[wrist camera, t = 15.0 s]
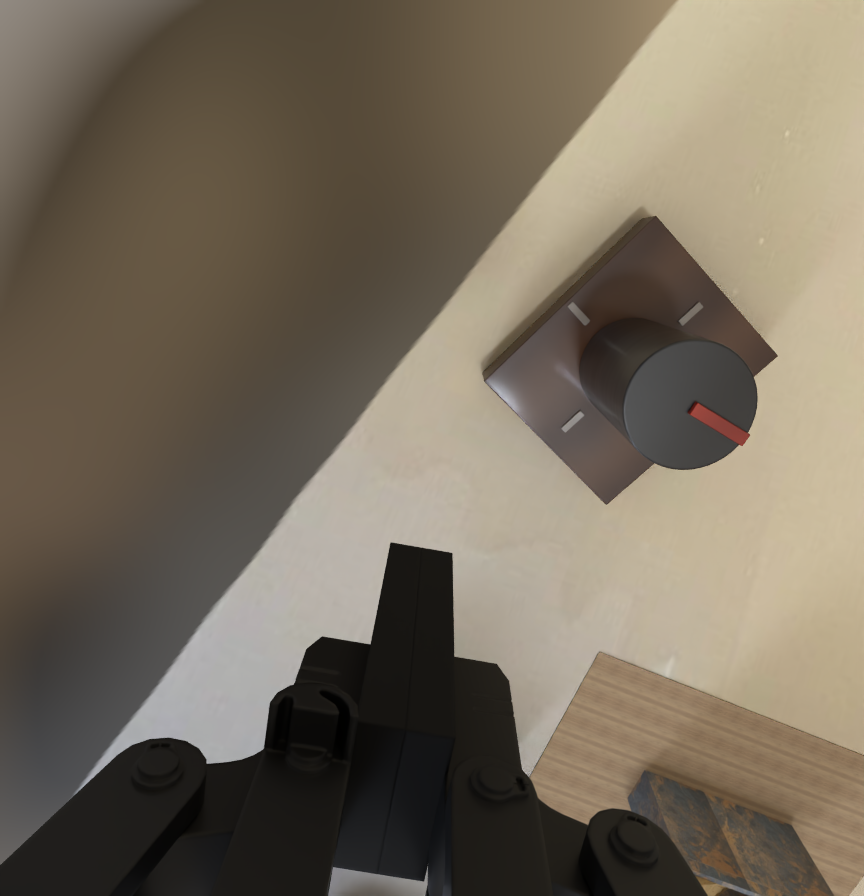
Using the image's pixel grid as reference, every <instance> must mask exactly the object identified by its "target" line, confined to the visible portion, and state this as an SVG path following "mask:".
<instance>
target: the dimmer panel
mask: <svg viewBox="0 0 864 896" xmlns="http://www.w3.org/2000/svg"><path fill="white" fill-rule="evenodd" d="M626 318H643V319H647V320H651V321H654V322H657V323H660V324H663V325H666V326H669V327H672V328H675V329H678V330H681V331H685V332H688V333H691V334H694V335H697V336H700V337H703V338H706V339H709V340H712V341H715V342H718V343H721V344H723V345H725V346H727V347H729V348H731V349H732V350H733V351H735V352H736V353H737V354H738V355H739V356H740V357H741V358H742V359H743V360H744V361H745V362H746V364H747V365H748V366H749V368H750V370H751V372H752V374H753V377H754V376H755V375H756V374H758V373H759V372H760V371H761V370H762V369H763V368H765V367H766V366H767V365H768V364H769V363H770V362H771V361H773V360H774V359H775V358H776V357H777V354H776V353H775V352H774V351H773V350H772V349H771V347H770V346H769V345H768V344H767V343H766V342H765V340H764V339H763V338H762V337H761V336H760V335H759V334H758V332H757V331H756V330H755V329H754V328H753V327H752V326H751V324H750V323H749V322H748V321H747V320H746V319H745V318H744V316H743V315H742V314H741V313H740V312H739V311H738V310H737V308H736V307H735V306H734V305H733V304H732V303H731V302H730V300H729V299H728V298H727V297H726V296H725V295H724V293H723V292H722V291H721V290H720V289H719V288H718V287H717V285H716V284H715V283H714V282H713V281H712V280H711V279H710V277H709V276H708V275H707V274H706V273H705V272H704V271H703V269H702V268H701V267H700V266H699V265H698V264H697V263H696V261H695V260H694V259H693V258H692V257H691V256H690V254H689V253H688V252H687V251H686V250H685V249H684V248H683V246H682V245H681V244H680V243H679V242H678V241H677V240H676V238H675V237H674V236H673V235H672V234H671V233H670V232H669V230H668V229H667V228H666V227H665V226H664V225H663V224H662V222H661V221H660V220H659V219H658V218H657V217H656V216H653V217H648V218H642V219H641V220H640V221H639V222H638V223H637V224H636V225H635V226H634V227H633V228H632V229H631V230H630V231H629V232H628V233H627V234H626V235H625V236H624V237H622V238H621V239H620V240H619V241H618V242H617V243H616V244H615V245H614V246H613V247H612V248H611V249H610V250H609V251H608V252H607V253H606V254H605V255H604V256H603V257H602V258H601V259H600V260H599V261H598V262H597V263H596V264H595V265H594V266H592V267H591V268H590V269H589V270H588V271H587V272H586V273H585V274H584V275H583V276H582V277H581V278H580V279H579V280H578V281H577V282H576V283H575V284H574V285H573V286H572V287H571V288H570V289H569V290H568V291H567V292H566V293H565V294H564V295H563V296H561V297H560V298H559V299H558V300H557V301H556V302H555V303H554V304H553V305H552V306H551V307H550V308H549V309H548V310H547V311H546V312H545V313H544V314H543V315H542V316H541V317H540V318H539V319H538V320H537V321H536V322H535V323H534V324H533V325H531V326H530V327H529V328H528V329H527V330H526V331H525V332H524V333H523V334H522V335H521V336H520V337H519V338H518V339H517V340H516V341H515V342H514V343H513V344H512V345H511V346H510V347H509V348H508V349H507V350H506V351H505V352H504V353H503V354H501V355H500V356H499V357H498V358H497V359H496V360H495V361H494V362H493V363H492V364H491V365H490V366H489V367H488V368H487V369H486V370H485V371H484V372H483V373H482V375H483V378H484V381H485V383H486V384H487V385H488V386H489V387H490V388H491V389H492V390H493V391H494V392H495V393H496V394H497V395H498V396H499V397H500V398H501V399H502V400H503V401H504V402H505V403H506V404H507V405H508V406H509V407H510V408H511V409H512V410H513V411H514V412H515V413H516V414H517V415H518V416H519V417H520V418H521V419H522V420H523V421H524V422H525V423H526V424H527V425H528V426H529V427H530V428H531V429H532V430H533V431H534V432H535V433H536V434H537V435H538V436H539V437H540V438H541V439H542V440H543V441H544V442H545V443H546V444H547V445H548V446H549V447H550V448H551V449H552V450H553V451H554V452H555V453H556V454H557V456H558V457H559V458H560V459H561V460H562V461H563V462H564V463H565V464H566V465H567V466H568V467H569V468H570V469H571V470H572V471H573V472H574V473H575V474H576V475H577V476H578V477H579V478H580V479H581V480H582V481H583V482H584V483H585V484H586V485H587V486H588V487H589V488H590V489H591V490H592V491H593V492H594V493H595V494H596V495H597V496H598V497H599V498H600V499H601V500H602V501H603V502H604V503H605V504H606V505H607V504H608V503H609V502H610V501H611V500H613V499H614V498H615V497H616V496H617V495H618V494H619V493H621V492H622V491H623V490H624V489H625V488H626V487H628V486H629V485H630V484H631V483H632V482H633V481H634V480H636V479H637V478H638V477H639V476H640V475H641V474H643V473H644V472H645V471H646V470H647V469H648V468H649V467H651V466H652V465H653V464H654V463H653V462H651V461H650V460H648V459H647V458H645V457H644V456H643V455H642V454H641V453H639V452H638V451H637V450H636V449H635V448H634V447H633V446H632V445H631V443H630V442H629V441H628V440H627V439H626V438H625V437H624V436H623V435H622V434H621V433H620V432H619V431H618V430H617V429H616V428H615V427H614V426H613V425H612V424H611V423H610V422H609V421H608V420H607V419H606V418H605V417H604V416H603V415H602V414H601V413H600V412H599V410H598V409H597V408H596V407H595V406H594V405H593V404H592V403H591V402H590V401H589V400H588V398H587V396H586V395H585V393H584V391H583V388H582V385H581V381H580V362H581V358H582V355H583V352H584V350H585V348H586V346H587V344H588V343H589V341H590V340H591V339H592V337H593V336H594V335H595V334H596V333H597V332H599V331H600V330H601V329H602V328H604V327H605V326H607V325H608V324H611V323H613V322H615V321H618V320H621V319H626Z"/></svg>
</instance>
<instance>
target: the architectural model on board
mask: <svg viewBox="0 0 864 896" xmlns="http://www.w3.org/2000/svg"><path fill="white" fill-rule="evenodd" d="M530 779H531V780H532V783H533V785H534V788H535V790H536V792H537V797H538V798H539V799H540V800H541V801H542V802H544V803H545V804H546V805H548V806H549V807H550V808H552V809H554V810H556V811H558V812H560V813H562V814H564V815H566V816H568V817H571V818H573V819H575V820H578V821H580V822H582V823H585V824H587V825H588V824H589V821H590V819H591V818H592V817H593V816H594V815H595V814H596V813H597V812H599V811H602V810H606V809H611V808H615V809H623V810H629V811H632V812H634V813H637V814H639V815H642V816H644V817H646V818H648V819H649V820H650V821H652V822H653V823H655V824H656V825H657V826H659V827H660V828H662V829H663V831H664V832H665V833H666V834H667V835H668V836H669V838H670V839H671V840H672V841H673V842H674V844H675V845H676V847H677V848H678V850H679V851H680V853H681V854H682V856H683V858H684V859H685V861H686V862H687V864H688V865H689V867H690V868H691V870H692V871H693V873H694V875H695V876H696V878H697V879H698V881H699V882H700V884H701V885H702V887H703V889H704V890H705V892H706V893H707V895H708V896H849V895H850V893H851V892H852V891H853V889H854V888H855V887H856V885H857V884H858V883H859V881H860V880H861V879H862V877H863V876H864V756H863V755H860V754H858V753H855V752H853V751H850V750H848V749H845V748H843V747H840V746H837V745H835V744H832V743H830V742H827V741H825V740H822V739H820V738H817V737H814V736H812V735H809V734H807V733H804V732H802V731H799V730H797V729H794V728H792V727H789V726H786V725H784V724H781V723H779V722H776V721H774V720H771V719H769V718H766V717H764V716H761V715H758V714H756V713H753V712H751V711H748V710H746V709H743V708H741V707H738V706H736V705H733V704H730V703H728V702H725V701H723V700H720V699H718V698H715V697H713V696H710V695H707V694H705V693H702V692H700V691H697V690H695V689H692V688H690V687H687V686H685V685H682V684H679V683H677V682H674V681H672V680H669V679H667V678H664V677H662V676H659V675H657V674H654V673H651V672H649V671H646V670H644V669H641V668H639V667H636V666H634V665H631V664H629V663H626V662H623V661H621V660H618V659H616V658H613V657H611V656H608V655H606V654H603V653H600V652H599V653H598V655H597V657H596V659H595V661H594V662H593V664H592V666H591V668H590V670H589V671H588V673H587V675H586V677H585V679H584V680H583V682H582V684H581V686H580V688H579V689H578V691H577V693H576V695H575V697H574V698H573V700H572V702H571V704H570V706H569V707H568V709H567V711H566V713H565V715H564V716H563V718H562V720H561V722H560V724H559V725H558V727H557V729H556V731H555V733H554V734H553V736H552V738H551V740H550V742H549V743H548V745H547V747H546V749H545V751H544V752H543V754H542V756H541V758H540V760H539V761H538V763H537V765H536V767H535V769H534V770H533V772H532V774H531V776H530Z"/></svg>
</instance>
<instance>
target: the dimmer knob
mask: <svg viewBox="0 0 864 896" xmlns="http://www.w3.org/2000/svg"><path fill="white" fill-rule="evenodd" d="M580 381H581V385H582V388H583V391H584V393H585V395H586V396H587V398H588V400H589V401H590V402H591V403H592V404H593V405H594V406H595V407H596V408H597V409H598V410H599V412H600V413H601V414H602V415H603V416H604V417H605V418H606V419H607V420H608V421H609V422H610V423H611V424H612V425H613V426H614V427H615V428H616V429H617V430H618V431H619V432H620V433H621V434H622V435H623V436H624V437H625V438H626V439H627V440H628V441H629V442H630V443H631V445H632V446H633V447H634V448H635V449H636V450H637V451H638V452H639V453H641V454H642V455H643V456H644V457H645V458H647V459H648V460H650V461H651V462H653V463H655V464H657V465H660V466H663V467H666V468H671V469H678V470H689V469H696V468H701V467H704V466H708V465H710V464H713V463H715V462H717V461H719V460H721V459H722V458H724V457H725V456H727V455H728V454H729V453H731V452H732V451H733V450H734V449H735V448H736V447H737V446H738V445H741V446H743V444H744V443H745V442H746V440H747V439H748V438H749V436H750V434H748V432H749V430H750V428H751V425H752V423H753V420H754V417H755V414H756V409H757V388H756V383H755V380H754V377H753V374H752V372H751V370H750V368H749V366H748V365H747V364H746V362H745V361H744V360H743V359H742V358H741V357H740V356H739V355H738V354H737V353H736V352H735V351H733V350H732V349H731V348H729V347H727V346H725V345H723V344H721V343H718V342H715V341H712V340H709V339H706V338H703V337H700V336H697V335H694V334H691V333H688V332H685V331H681V330H678V329H675V328H672V327H669V326H666V325H663V324H660V323H657V322H654V321H651V320H647V319H643V318H626V319H621V320H618V321H615V322H613V323H611V324H608V325H607V326H605V327H604V328H602V329H601V330H600V331H599V332H597V333H596V334H595V335H594V336H593V337H592V339H591V340H590V341H589V343H588V344H587V346H586V348H585V350H584V352H583V355H582V358H581V362H580Z"/></svg>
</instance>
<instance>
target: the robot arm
mask: <svg viewBox="0 0 864 896" xmlns="http://www.w3.org/2000/svg"><path fill="white" fill-rule="evenodd" d="M513 714H514V712H513V705H512V702H511V692H510V685H509V680H508V679H507V678H506V676H505V675H504V674H503V672H502V671H501V669H500V668H499V667H498V665H497V664H494V663H488V662H482V661H476V660H470V659H464V658H458V657H454V617H453V561H452V553H449V552H443V551H437V550H432V549H426V548H420V547H414V546H408V545H403V544H397V543H390V548H389V553H388V559H387V564H386V569H385V574H384V579H383V584H382V589H381V594H380V599H379V604H378V610H377V615H376V620H375V625H374V630H373V635H372V640H371V645H370V644H364V643H358V642H352V641H346V640H340V639H334V638H328V637H321V638H320V639H318V640H317V641H316V642H315V643H313V644H312V645H311V646H310V647H309V648H307V649H306V652H305V655H304V658H303V661H302V663H301V667H300V669H299V672H298V675H297V677H296V681H295V683H294V685H291V686H289V687H287V688H285V689H283V690H281V691H280V692H278V693H277V694H276V695H275V697H274V698H273V699H272V701H271V702H270V707H269V715H268V722H267V730H266V738H265V745H264V749H263V750H262V751H260V752H258V753H257V754H255V755H253V756H250V757H248V758H245V759H242V760H237V761H232V762H224V763H213V764H206V758H205V757H204V755H203V754H202V753H201V751H200V750H199V748H197V747H195V746H193V745H192V744H190V743H188V742H187V741H183V740H178V739H173V738H159V739H149V740H146V741H143V742H140V743H137V744H134V745H132V746H130V747H129V748H127V749H126V750H124V751H123V752H121V753H120V754H118V755H117V756H116V757H115V758H114V759H113V760H112V761H111V762H110V763H108V764H107V765H106V766H105V767H104V768H103V769H102V770H101V771H100V772H99V773H98V774H97V775H96V776H95V777H94V778H93V779H91V780H90V781H89V782H88V783H87V784H86V785H85V786H84V787H83V788H82V789H81V790H80V791H79V792H78V793H77V794H76V795H74V796H73V797H72V798H71V799H70V800H69V801H68V802H67V803H66V804H65V805H64V806H63V807H62V808H61V809H60V810H59V811H58V812H56V813H55V814H54V815H53V816H52V817H51V818H50V819H49V820H48V821H47V822H46V823H45V824H44V825H43V826H41V827H40V828H39V829H38V830H37V831H36V832H35V833H34V834H33V835H32V836H31V837H30V838H29V839H28V840H27V841H26V842H24V843H23V844H22V845H21V846H20V847H19V848H18V849H17V850H16V851H15V852H14V853H13V854H12V855H11V856H10V857H9V858H7V859H6V860H5V861H4V862H3V863H2V864H1V865H0V896H328V892H329V886H330V881H331V875H332V869H333V867H336V868H343V869H349V870H355V871H361V872H368V873H374V874H380V875H387V876H393V877H399V878H405V879H412V880H418V881H424V879H425V875H426V870H427V866H428V886H427V890H426V895H425V896H708V895H707V893H706V892H705V890H704V889H703V887H702V885H701V884H700V882H699V881H698V879H697V878H696V876H695V875H694V873H693V871H692V870H691V868H690V867H689V865H688V864H687V862H686V861H685V859H684V858H683V856H682V854H681V853H680V851H679V850H678V848H677V847H676V845H675V844H674V842H673V841H672V840H671V839H670V838H669V836H668V835H667V834H666V833H665V832H664V831H663V829H662V828H660V827H659V826H657V825H656V824H655V823H653V822H652V821H650V820H649V819H648V818H646V817H644V816H642V815H639V814H637V813H634V812H632V811H629V810H623V809H615V808H611V809H606V810H602V811H599V812H597V813H596V814H595V815H594V816H593V817H592V818H591V819H590V821H589V824H588V825H587V824H585V823H582V822H580V821H578V820H575V819H573V818H571V817H568V816H566V815H564V814H562V813H560V812H558V811H556V810H554V809H552V808H550V807H549V806H548V805H546V804H545V803H544V802H542V801H541V800H540V799H539V798H538V797H537V792H536V790H535V788H534V785H533V783H532V780H531V779H530V778H529V777H528V776H527V775H526V774H525V773H524V772H523V770H522V767H521V761H520V754H519V747H518V740H517V733H516V726H515V719H514V717H513Z"/></svg>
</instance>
